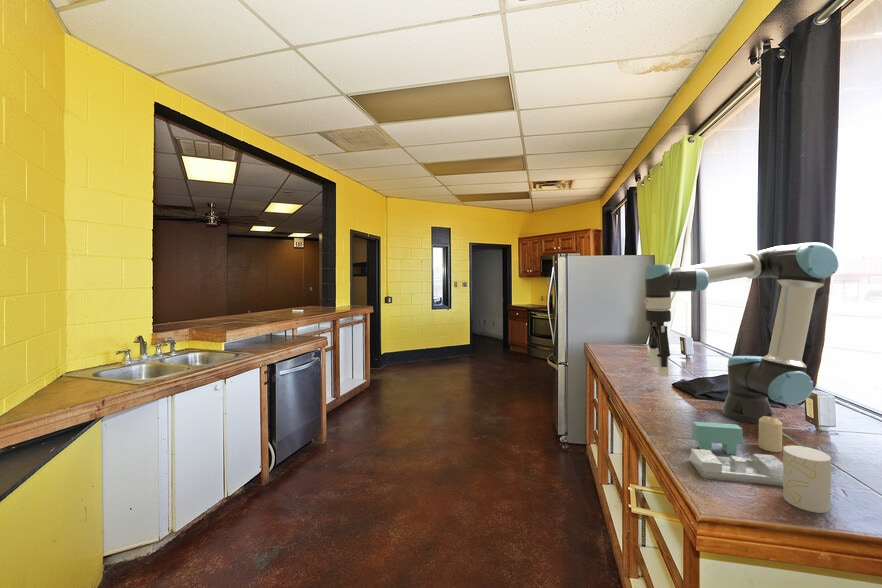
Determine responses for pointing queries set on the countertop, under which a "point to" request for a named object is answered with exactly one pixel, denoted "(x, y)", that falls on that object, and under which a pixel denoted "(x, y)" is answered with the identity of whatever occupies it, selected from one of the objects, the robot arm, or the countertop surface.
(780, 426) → the candle
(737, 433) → the teal notched block
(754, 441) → the countertop surface
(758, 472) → the white block holder tray
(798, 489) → the cup
